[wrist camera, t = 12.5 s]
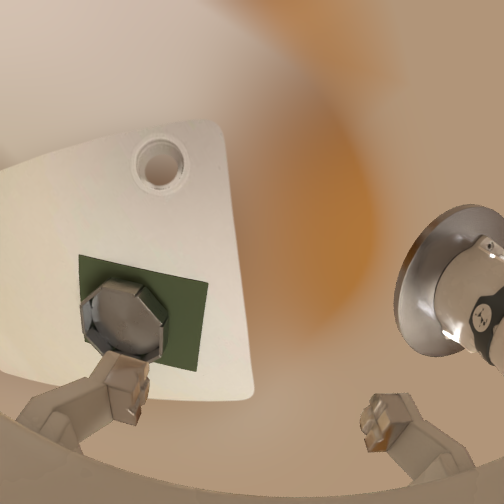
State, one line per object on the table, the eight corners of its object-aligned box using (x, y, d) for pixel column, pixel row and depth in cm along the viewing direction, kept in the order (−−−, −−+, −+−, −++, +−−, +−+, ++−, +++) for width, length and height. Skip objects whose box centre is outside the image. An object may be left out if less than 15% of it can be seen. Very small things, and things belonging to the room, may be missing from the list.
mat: (208, 283, 40) (208, 283, 40) (196, 371, 45) (196, 371, 45) (78, 254, 39) (78, 254, 39) (85, 341, 44) (84, 341, 44)
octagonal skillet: (91, 268, 40) (76, 281, 35) (173, 286, 40) (163, 302, 36) (100, 370, 46) (90, 386, 42) (168, 389, 47) (161, 408, 42)
